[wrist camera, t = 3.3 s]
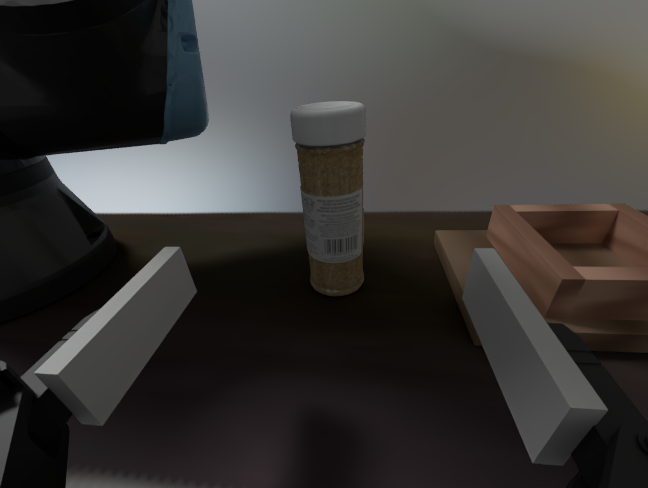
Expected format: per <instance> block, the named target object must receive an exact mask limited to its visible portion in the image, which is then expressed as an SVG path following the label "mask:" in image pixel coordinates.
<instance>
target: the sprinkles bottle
mask: <svg viewBox="0 0 648 488" xmlns="http://www.w3.org/2000/svg"><path fill="white" fill-rule="evenodd" d="M290 116H291V128H292V136H293V141H295V142H296V145H295V147H296V149H297V154H298V162H299V171H300V180H301V187H300V188H301V197H302V205H303V214H304V224H305V233H306V242H307V250H308V253H309V262H310V270H311V276H310V282H311V285H312V286H313V288H314V289H315V290H316V291H318V292H320V293H322V294H324V295H328V296H344V295H348V294H350V293H353V292H355V291H356V290H358V289H359V288H360V286H361V285H362V283H363V282H364V272H363V244H364V209H363V158H362V156H363V149H362V147H363V145H364V141H365V140H364V139H363V138H364V137H365V135H366V111H365V106H364V105H363V104H361V103H358V102H347V101H334V102H320V103H313V104H308V105H303V106H299V107H296V108H294V109H293V110H292V111H291V115H290Z"/></svg>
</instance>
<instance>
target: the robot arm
mask: <svg viewBox="0 0 648 488" xmlns="http://www.w3.org/2000/svg"><path fill="white" fill-rule="evenodd" d="M208 121H209V114H208V107H207V100H206V93H205V87H204V80H203V73H202V66H201V60H200V53H199V47H198V39H197V32H196V26H195V18H194V11H193V5H192V0H0V323H2V322H5V321H8V320H11V319H13V318H16V317H19V316H22V315H24V314H27V313H29V312H32V311H34V310H36V309H39V308H41V307H43V306H45V305H48V304H50V303H52V302H54V301H56V300H58V299H60V298H62V297H63V296H65V295H67V294H69V293H71V292H72V291H74V290H76V289H77V288H79V287H81V286H82V285H84V284H85V283H87V282H88V281H90V280H91V279H92V278H94V277H95V276H96V275H98V274H99V273H100V272H101V271H102V270H103V269H104V268H105V267H106V266H107V265H108V264H109V263H110V262H111V261H112V260H113V258H114V256H115V255H116V252H117V243H116V241H115V239H114V237H113V235H112V233H111V231H110V229H109V227H108V226H107V225H106V224H105V223H104V222H103V221H102V220H101V219H100V218H99V217H98V216H97V215H96V214H95V213H94V212H93V211H92V210H91V209H90V208H88V207H87V206H86V205H85V204H84V203H83V202H82V201H81V200H80V199H79V198H78V197H77V196H76V195H75V194H74V193H73V192H71V191H70V190H69V189H68V188H67V187H66V186H65V185H64V184H63V183H62V182H61V181H60V179H59V178H58V177H57V175H56V173H55V171H54V170H53V168H52V166H51V165H50V163H49V161H48V159H47V157H46V155H53V154H62V153H73V152H83V151H92V150H103V149H113V148H123V147H132V146H142V145H152V144H166V143H167V142H168V141H174V140H179V139H185V138H190V137H195V136H198V135H200V133H202V132H203V131H204V130H205V129H206V127H207V125H208ZM196 293H197V290H196V287H195V285H194V282H193V280H192V277H191V274H190V272H189V269H188V266H187V264H186V261H185V258H184V256H183V253H182V251H181V248H180V247H164V248H163V249H162V250H161V251H160V252H159V253H158V254H157V255H156V256H155V257H154V258H153V259H152V260H151V261H150V262H149V263H148V264H147V265H146V266H145V267H144V268H143V269H142V270H140V271H139V272H138V273H137V274H136V275H135V276H134V277H133V278H132V279H131V280H130V281H129V282H128V283H127V284H126V285H125V286H124V287H123V288H122V289H121V290H120V291H119V292H118V293H116V294H115V295H114V296H113V297H112V298H111V299H110V300H109V301H108V302H107V303H106V304H105V305H104V306H103V307H102V308H101V309H98V310H96V311H95V312H93V313H91V314H90V315H88V316H87V317H85V318H84V319H82V320H81V321H80V322H79V323H78V324H77V325H76V326H75V327H74V328H73V329H72V331H71V332H69V333H67V334H66V335H65V336H64V337H63V338H62V341H59V342H58V343H57V344H56V345H55V346H54V347H53V348H51V349H50V350H49V351H48V352H47V353H46V354H45V355H44V356H43V357H42V358H41V359H40V360H39V361H38V362H36V363H35V364H34V365H33V366H32V367H31V368H30V369H29V370H28V371H27V372H26V373H25V374H24V375H23V376H21V377H19V376H18V375H17V374H16V373H15V372H14V371H13V370H12V369H11V368H10V367H9V366H8V365H7V364H6V363H5V362H3V361H0V488H65V486H66V472H67V459H68V445H69V432H70V431H69V427H68V425H67V424H66V422H67V421H68V419H69V418H70V417H71V416H72V415H74V416H75V417H76V418H77V419H78V421H79V422H80V423H81V424H86V425H98V426H103V425H104V423H105V422H106V420H107V419H108V418H109V416H110V415H111V413H112V412H113V410H114V409H115V408H116V406H117V405H118V403H119V402H120V401H121V399H122V398H123V396H124V395H125V393H126V392H127V391H128V389H129V388H130V386H131V385H132V383H133V382H134V381H135V379H136V378H137V376H138V375H139V374H140V372H141V371H142V369H143V368H144V366H145V365H146V364H147V362H148V361H149V359H150V358H151V356H152V355H153V354H154V352H155V351H156V349H157V348H158V347H159V345H160V344H161V342H162V341H163V339H164V338H165V337H166V335H167V334H168V332H169V331H170V329H171V328H172V327H173V325H174V324H175V322H176V321H177V320H178V318H179V317H180V315H181V314H182V312H183V311H184V310H185V308H186V307H187V305H188V304H189V302H190V301H191V300H192V298H193V297H194V295H195V294H196ZM462 299H463V301H464V304H465V306H466V308H467V311H468V313H469V315H470V318H471V320H472V322H473V325H474V327H475V329H476V332H477V334H478V337H479V339H480V341H481V344H482V346H483V348H484V351H485V353H486V355H487V358H488V360H489V362H490V365H491V367H492V369H493V372H494V374H495V376H496V379H497V381H498V383H499V386H500V388H501V391H502V393H503V395H504V398H505V400H506V402H507V405H508V407H509V409H510V412H511V414H512V416H513V419H514V421H515V423H516V426H517V428H518V430H519V433H520V435H521V437H522V440H523V442H524V444H525V447H526V449H527V452H528V454H529V456H530V459H531V461H532V463H535V464H547V465H558V466H563V465H564V464H565V463H566V461H567V460H568V459H569V458H570V457H571V455H572V457H573V459H574V461H575V463H576V465H577V467H578V468H579V470H580V471H579V472H578V474H577V475H576V476H575V477H574V478H573V479H572V480H571V481H570V482H569V484H568V485H567V487H566V488H648V421H647V420H646V419H645V418H644V417H643V416H642V415H641V413H640V412H639V411H638V410H637V408H636V407H635V406H634V405H633V403H632V402H631V401H630V399H629V398H628V397H627V396H626V394H625V393H624V392H623V391H622V389H621V388H620V387H619V386H618V384H617V383H616V382H615V381H614V379H613V378H612V377H611V375H610V374H609V373H608V372H607V370H606V369H605V368H604V367H602V366H601V363H600V362H599V360H598V359H597V358H596V357H595V355H594V354H592V353H591V350H590V349H589V348H588V346H587V345H586V344H585V343H584V341H583V340H582V339H581V338H580V336H579V335H577V334H576V333H575V332H573V331H572V330H571V329H569V328H568V327H567V326H565V325H564V324H563V323H546V321H545V320H544V318H543V317H542V316H541V314H540V313H539V311H538V310H537V308H536V307H535V306H534V304H533V303H532V301H531V300H530V299H529V297H528V296H527V294H526V293H525V292H524V290H523V289H522V287H521V286H520V284H519V283H518V282H517V280H516V279H515V277H514V276H513V275H512V273H511V272H510V270H509V269H508V267H507V266H506V265H505V263H504V262H503V260H502V259H501V258H500V256H499V255H498V253H497V252H496V251H495V249H494V248H474V252H473V256H472V260H471V264H470V268H469V272H468V276H467V280H466V284H465V288H464V292H463V296H462Z"/></svg>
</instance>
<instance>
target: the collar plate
mask: <svg viewBox="0 0 648 488" xmlns="http://www.w3.org/2000/svg"><path fill="white" fill-rule="evenodd" d="M434 246H435V249H436V251H437V254H438V256H439V259H440V261H441V264H442V266H443V269H444V271H445V274H446V276H447V279H448V281H449V284H450V286H451V289H452V291H453V294H454V296H455V299H456V301H457V304H458V306H459V309H460V311H461V314H462V316H463V319H464V321H465V324H466V326H467V329H468V331H469V334H470V336H471V339H472V341H473V344H474V346H482V344H481V341H480V339H479V337H478V334H477V332H476V329H475V327H474V325H473V322H472V320H471V318H470V315H469V313H468V311H467V308H466V306H465V304H464V301H463V299H462V296H463V292H464V288H465V284H466V280H467V276H468V272H469V268H470V264H471V260H472V256H473V252H474V248H494V249H495V251H496V252H497V253H498V255H499V256H500V258H501V259H502V260H503V262H504V263H505V265H506V266H507V267H508V269H509V270H510V272H511V273H512V275H513V276H514V277H515V279H516V280H517V282H518V283H519V284H520V286H521V287H522V289H523V290H524V292H525V293H526V294H527V296H528V297H529V299H530V300H531V301H532V303H533V304H534V306H535V307H536V308H537V310H538V311H539V313H540V314H541V316H542V317H543V318H544V320H545V321H546V323H563V324H564V325H565V326H567V327H568V328H569V329H571V330H572V331H573V332H575V333H576V334H577V335H579V336H580V338H581V339H582V340H583V341H584V343H585V344H586V345H587V346H588V348H589V349H590V350H591V351H611V352H636V353H648V216H646V215H644V214H643V213H641V212H639V211H637V210H635V209H633V208H631V207H630V206H628V205H626V204H569V205H568V204H566V205H495V206H494V208H493V212H492V216H491V220H490V223H489V227H488V230H436V232H435V238H434Z"/></svg>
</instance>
